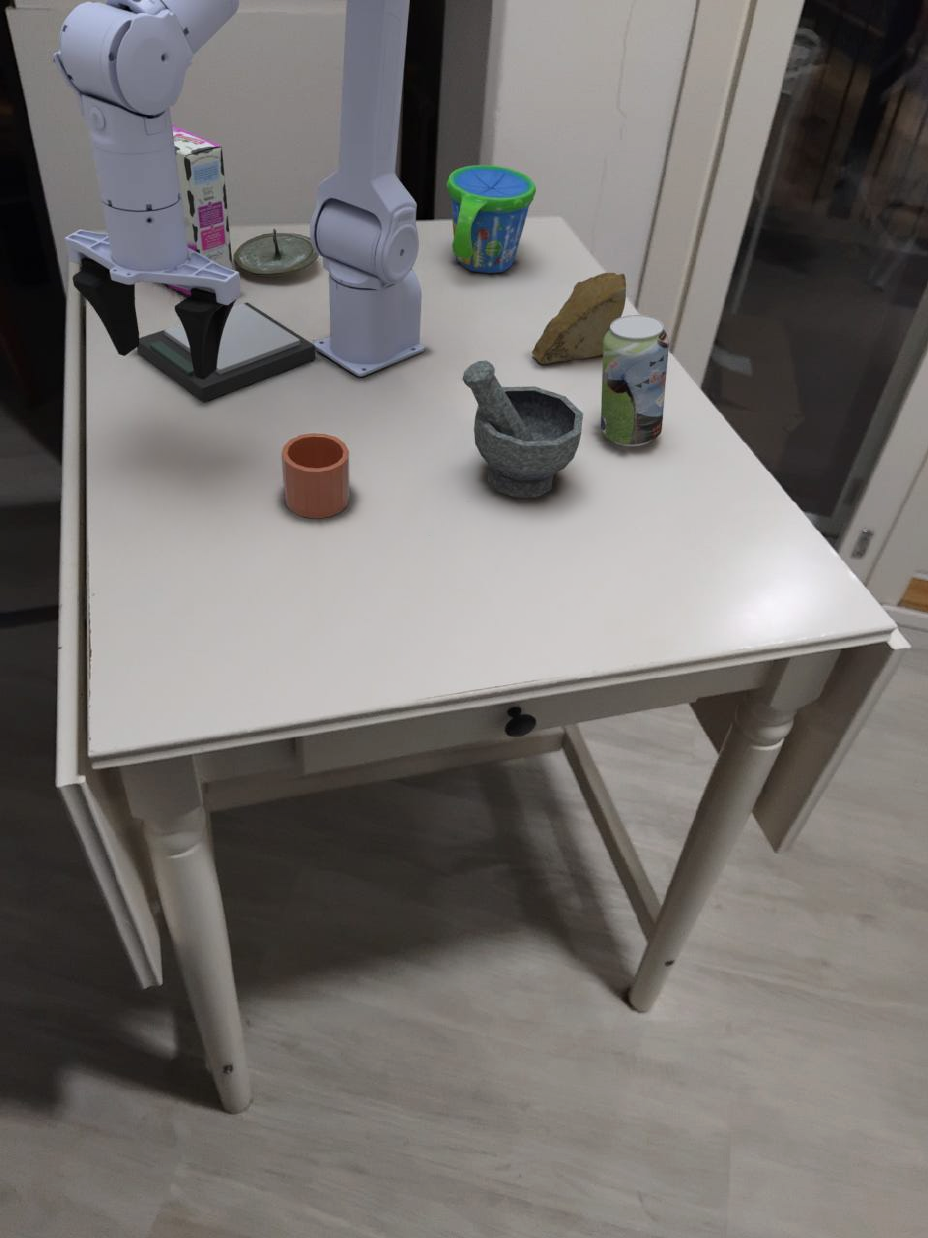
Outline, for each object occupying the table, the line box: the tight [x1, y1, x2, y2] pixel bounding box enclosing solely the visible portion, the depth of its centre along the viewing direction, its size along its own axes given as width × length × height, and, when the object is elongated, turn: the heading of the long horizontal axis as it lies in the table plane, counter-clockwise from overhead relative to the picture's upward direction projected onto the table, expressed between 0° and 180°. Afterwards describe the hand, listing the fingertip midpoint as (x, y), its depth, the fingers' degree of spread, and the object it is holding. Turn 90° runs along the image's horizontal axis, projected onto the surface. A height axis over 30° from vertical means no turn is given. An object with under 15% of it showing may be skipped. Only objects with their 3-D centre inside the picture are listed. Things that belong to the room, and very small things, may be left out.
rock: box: [531, 272, 627, 365], centre depth 104 cm, size 11×9×10 cm
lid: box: [232, 228, 320, 277], centre depth 114 cm, size 11×10×5 cm
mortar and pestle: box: [462, 360, 584, 499], centre depth 84 cm, size 11×9×12 cm
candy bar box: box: [162, 124, 234, 298], centre depth 105 cm, size 11×5×16 cm, turn 49°
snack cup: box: [446, 164, 537, 274], centre depth 117 cm, size 16×10×10 cm
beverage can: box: [600, 314, 670, 447], centre depth 91 cm, size 6×7×12 cm
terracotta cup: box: [281, 432, 350, 519], centre depth 82 cm, size 6×6×5 cm
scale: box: [136, 301, 316, 403], centre depth 99 cm, size 14×12×2 cm
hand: (167, 361), depth 80 cm, fingers open, 7 cm apart
